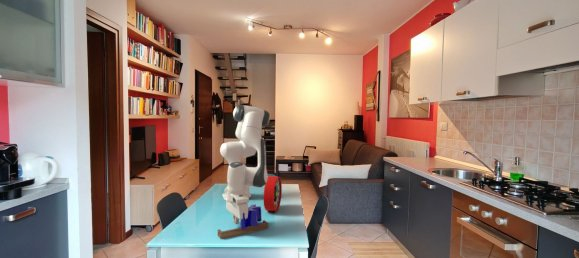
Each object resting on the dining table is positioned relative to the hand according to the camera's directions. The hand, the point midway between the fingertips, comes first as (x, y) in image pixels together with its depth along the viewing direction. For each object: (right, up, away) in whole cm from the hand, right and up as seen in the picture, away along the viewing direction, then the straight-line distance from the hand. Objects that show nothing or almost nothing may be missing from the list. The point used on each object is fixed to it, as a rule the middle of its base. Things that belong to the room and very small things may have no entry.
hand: (236, 223), depth 139 cm
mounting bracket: (+5, +4, 0) cm, 6 cm away
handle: (+5, -2, -5) cm, 8 cm away
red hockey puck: (+17, -2, +28) cm, 33 cm away
